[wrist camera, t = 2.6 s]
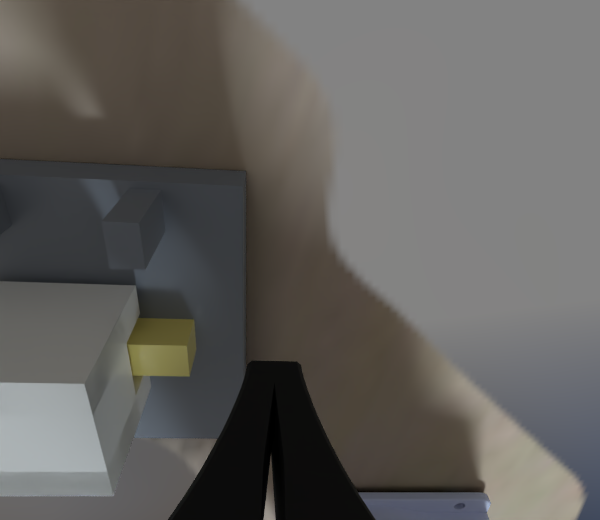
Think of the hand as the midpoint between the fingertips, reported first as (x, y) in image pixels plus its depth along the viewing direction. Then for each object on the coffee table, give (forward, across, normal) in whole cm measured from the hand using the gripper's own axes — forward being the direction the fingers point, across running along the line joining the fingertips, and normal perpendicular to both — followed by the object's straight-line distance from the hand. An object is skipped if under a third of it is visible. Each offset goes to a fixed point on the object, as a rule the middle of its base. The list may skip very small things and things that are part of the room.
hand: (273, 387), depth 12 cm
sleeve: (+2, +6, 0) cm, 6 cm away
